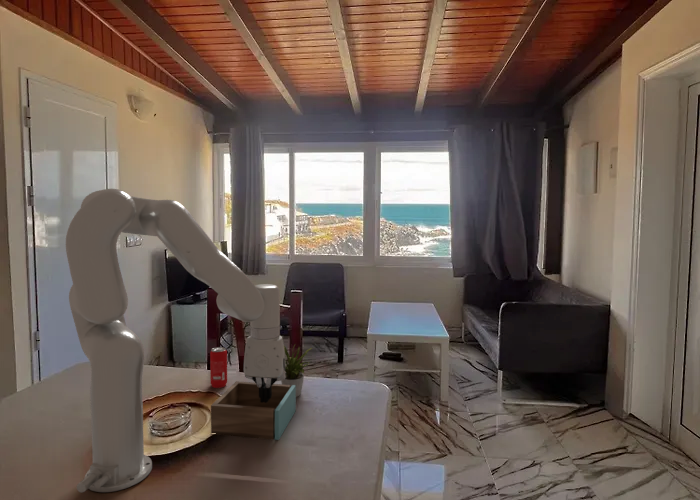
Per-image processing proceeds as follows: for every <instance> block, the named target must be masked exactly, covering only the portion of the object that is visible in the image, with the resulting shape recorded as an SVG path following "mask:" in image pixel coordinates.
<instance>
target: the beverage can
mask: <svg viewBox="0 0 700 500" xmlns="http://www.w3.org/2000/svg"><path fill="white" fill-rule="evenodd" d="M209 355H210V356H209V357H210V360H209V361H210V362H209V364H210V368H209V369H210V370H209V371H210V375H209V376H210V385H211V387H212V388H213V389H221V388H225V387H226V386H227V383H228V351H227V348H226V347H223V346H217V347H216V346H215V347H213V348H211V350H210V352H209Z"/></svg>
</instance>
